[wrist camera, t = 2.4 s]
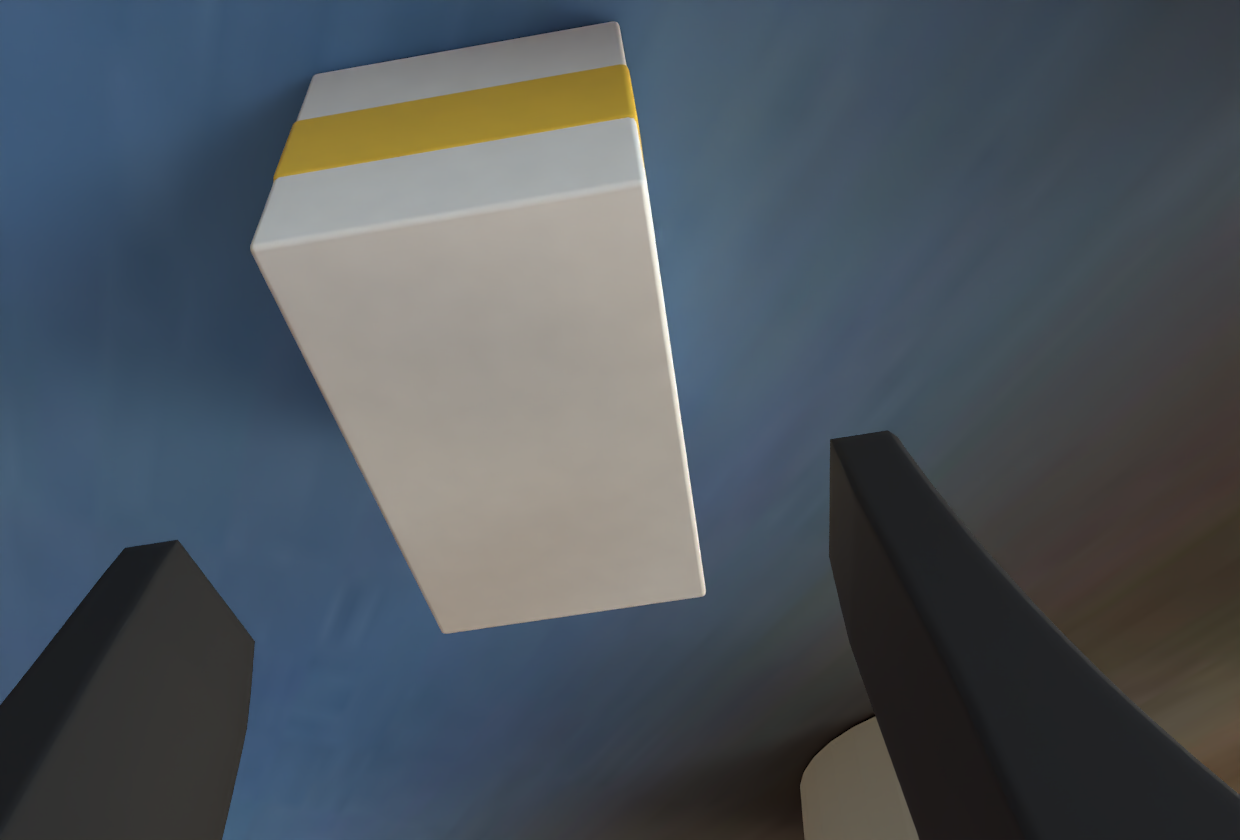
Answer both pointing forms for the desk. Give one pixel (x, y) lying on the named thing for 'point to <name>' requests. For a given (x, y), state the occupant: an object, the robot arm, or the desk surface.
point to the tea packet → (492, 322)
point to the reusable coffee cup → (855, 790)
